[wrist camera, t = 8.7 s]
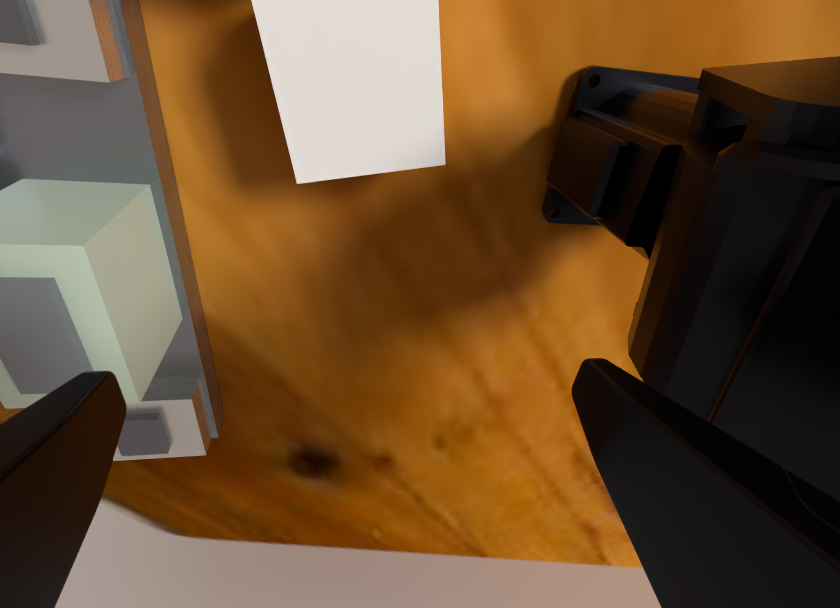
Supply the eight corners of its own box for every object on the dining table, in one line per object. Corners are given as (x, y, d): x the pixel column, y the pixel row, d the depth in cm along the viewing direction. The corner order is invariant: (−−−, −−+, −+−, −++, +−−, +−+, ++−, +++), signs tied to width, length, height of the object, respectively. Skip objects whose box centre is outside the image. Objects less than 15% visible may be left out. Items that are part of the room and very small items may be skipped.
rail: (117, -103, 12) (55, -135, 10) (224, 416, 25) (209, 467, 22) (-136, -144, 11) (-288, -194, 9) (106, 421, 23) (75, 476, 21)
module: (149, 184, 16) (76, 252, 11) (182, 318, 19) (135, 411, 14) (22, 178, 15) (-111, 249, 10) (79, 319, 18) (-3, 418, 14)
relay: (415, -13, 15) (437, -19, 12) (425, 136, 18) (445, 164, 15) (270, 1, 15) (250, -2, 11) (304, 151, 17) (297, 183, 14)
